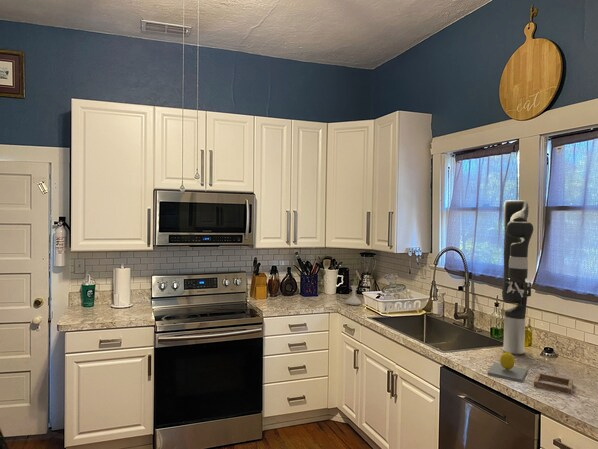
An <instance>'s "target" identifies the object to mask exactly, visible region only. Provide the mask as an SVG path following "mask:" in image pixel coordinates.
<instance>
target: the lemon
mask: <svg viewBox="0 0 598 449" xmlns="http://www.w3.org/2000/svg"><path fill="white" fill-rule="evenodd" d="M499 363H500V364H501V366H502V367H503V368H505V369H506V370H509V369H512V368H513V367H514V366H515V363H516V362H515V357H514V355H513V353H509V352H505V351H504V352H503V353H502V354H501V355H500V360H499Z"/></svg>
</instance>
